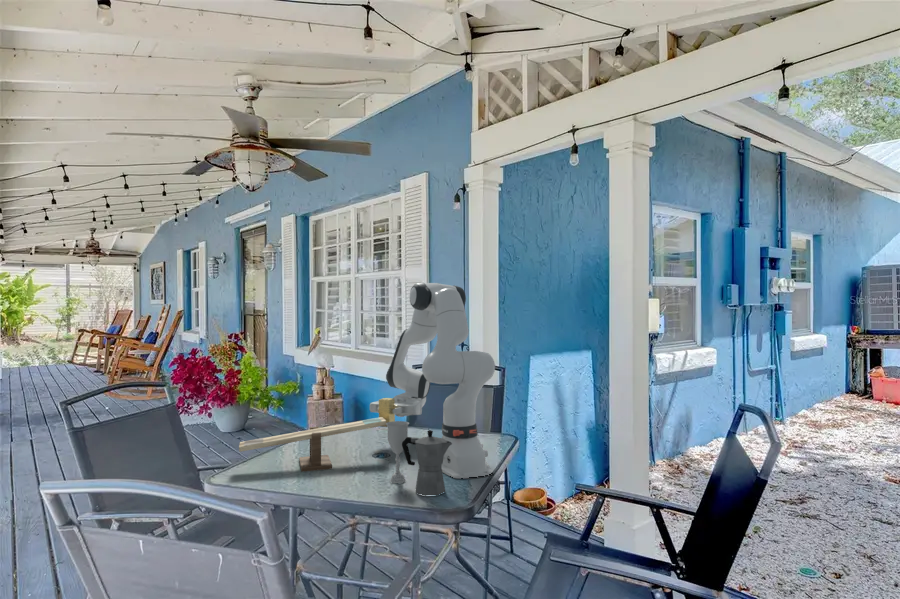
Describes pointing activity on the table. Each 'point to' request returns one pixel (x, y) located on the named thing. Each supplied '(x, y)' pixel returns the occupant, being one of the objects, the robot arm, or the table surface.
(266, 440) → the balance beam
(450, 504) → the table surface
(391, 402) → the tall olive textured block
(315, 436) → the beam stand
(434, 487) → the coffeepot
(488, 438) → the table surface
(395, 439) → the chalice
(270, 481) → the table surface
